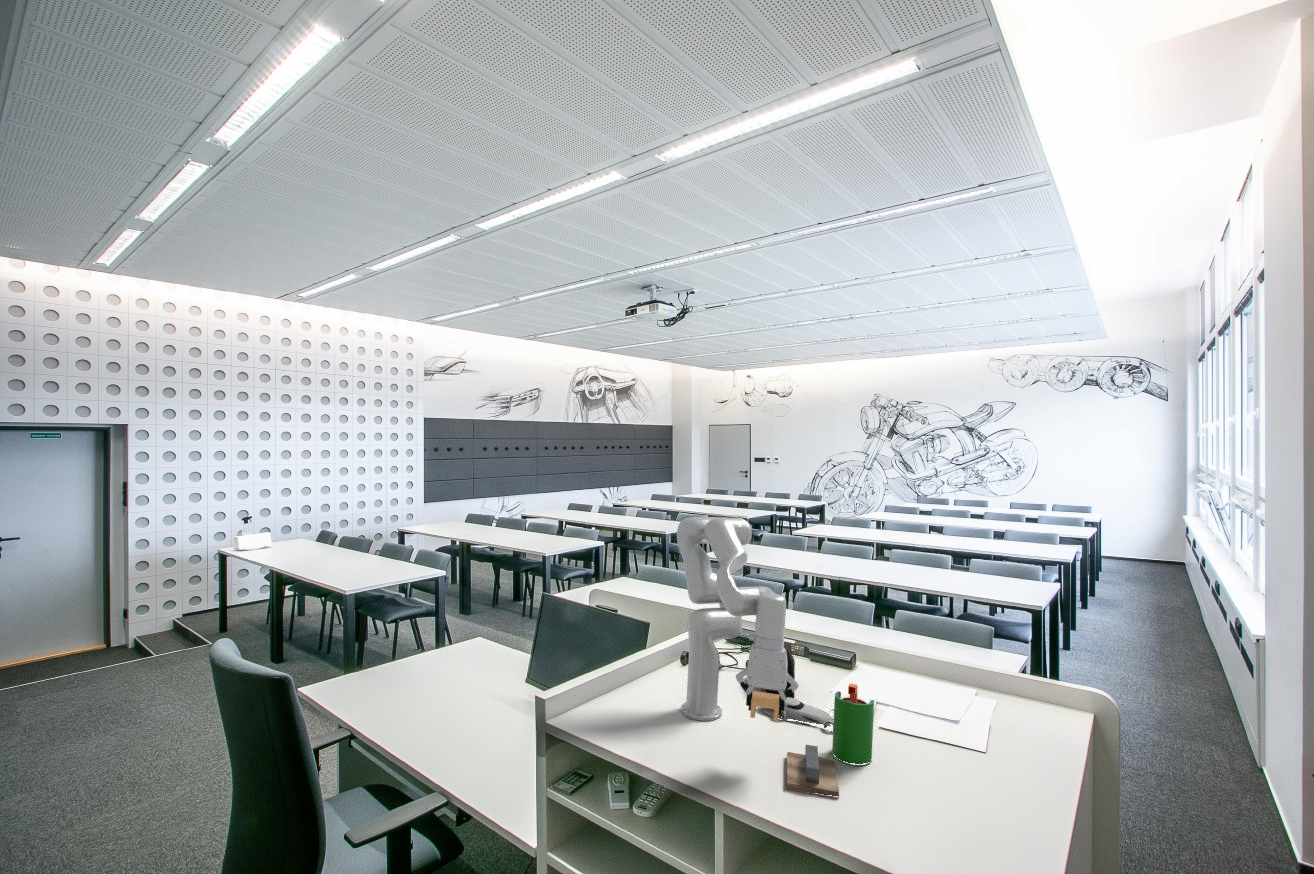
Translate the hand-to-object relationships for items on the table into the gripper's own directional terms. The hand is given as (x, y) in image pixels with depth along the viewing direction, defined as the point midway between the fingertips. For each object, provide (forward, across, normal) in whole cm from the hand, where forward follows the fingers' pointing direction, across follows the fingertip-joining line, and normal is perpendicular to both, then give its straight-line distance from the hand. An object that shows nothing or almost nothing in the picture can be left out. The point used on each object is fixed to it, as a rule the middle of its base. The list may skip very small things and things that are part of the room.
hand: (764, 710), depth 155 cm
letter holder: (+15, +2, +55) cm, 57 cm away
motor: (+14, +23, +12) cm, 30 cm away
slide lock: (+1, 0, 0) cm, 1 cm away
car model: (+15, +10, +33) cm, 37 cm away
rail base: (+13, +12, -2) cm, 18 cm away
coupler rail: (+12, +12, -2) cm, 17 cm away
